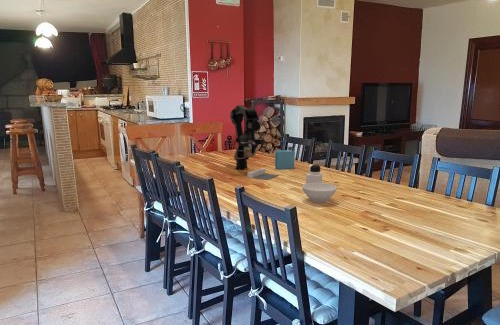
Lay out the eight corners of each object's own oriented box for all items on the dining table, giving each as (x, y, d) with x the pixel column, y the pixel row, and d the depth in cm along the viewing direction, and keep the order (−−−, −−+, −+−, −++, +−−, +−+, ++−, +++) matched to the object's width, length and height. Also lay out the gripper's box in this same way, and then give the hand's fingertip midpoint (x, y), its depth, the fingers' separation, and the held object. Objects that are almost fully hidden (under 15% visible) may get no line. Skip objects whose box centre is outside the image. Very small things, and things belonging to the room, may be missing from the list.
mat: (252, 177, 228) (252, 177, 228) (264, 173, 240) (264, 173, 240) (267, 180, 223) (267, 179, 223) (278, 175, 234) (278, 175, 234)
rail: (247, 177, 229) (247, 172, 228) (261, 172, 242) (261, 168, 241) (251, 178, 227) (251, 173, 227) (265, 173, 240) (265, 168, 240)
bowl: (315, 207, 171) (315, 192, 169) (295, 198, 185) (295, 184, 183) (343, 203, 178) (343, 188, 177) (321, 194, 192) (322, 181, 191)
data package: (291, 167, 259) (292, 150, 257) (294, 168, 255) (294, 151, 253) (275, 168, 256) (275, 150, 253) (277, 169, 251) (277, 151, 249)
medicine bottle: (322, 185, 210) (322, 164, 207) (318, 188, 203) (319, 166, 201) (309, 184, 213) (310, 163, 210) (305, 187, 206) (306, 165, 204)
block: (244, 156, 237) (244, 147, 236) (250, 155, 242) (250, 145, 241) (249, 157, 235) (249, 147, 233) (255, 155, 240) (255, 146, 239)
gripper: (229, 129, 234) (230, 154, 237) (255, 131, 224) (255, 157, 227) (240, 128, 243) (240, 152, 246) (265, 129, 233) (265, 155, 236)
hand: (249, 154), depth 238 cm, fingers closed on block, 4 cm apart
